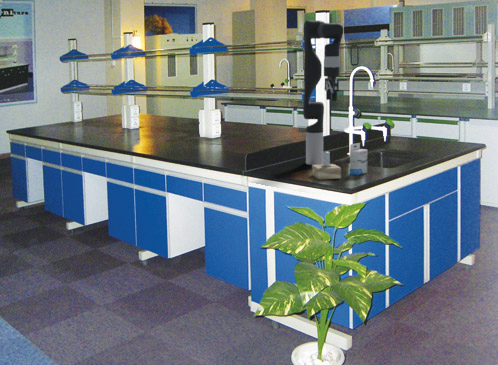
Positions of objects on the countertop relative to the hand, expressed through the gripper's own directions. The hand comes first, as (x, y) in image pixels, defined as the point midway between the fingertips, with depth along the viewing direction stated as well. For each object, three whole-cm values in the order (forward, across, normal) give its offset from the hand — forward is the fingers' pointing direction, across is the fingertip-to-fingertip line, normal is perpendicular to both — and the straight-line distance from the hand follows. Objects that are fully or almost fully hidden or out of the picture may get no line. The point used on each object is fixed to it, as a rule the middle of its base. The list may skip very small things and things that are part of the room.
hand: (331, 100), depth 294 cm
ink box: (+36, +4, +13) cm, 39 cm away
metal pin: (+36, +7, -4) cm, 37 cm away
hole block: (+36, +7, -4) cm, 37 cm away
